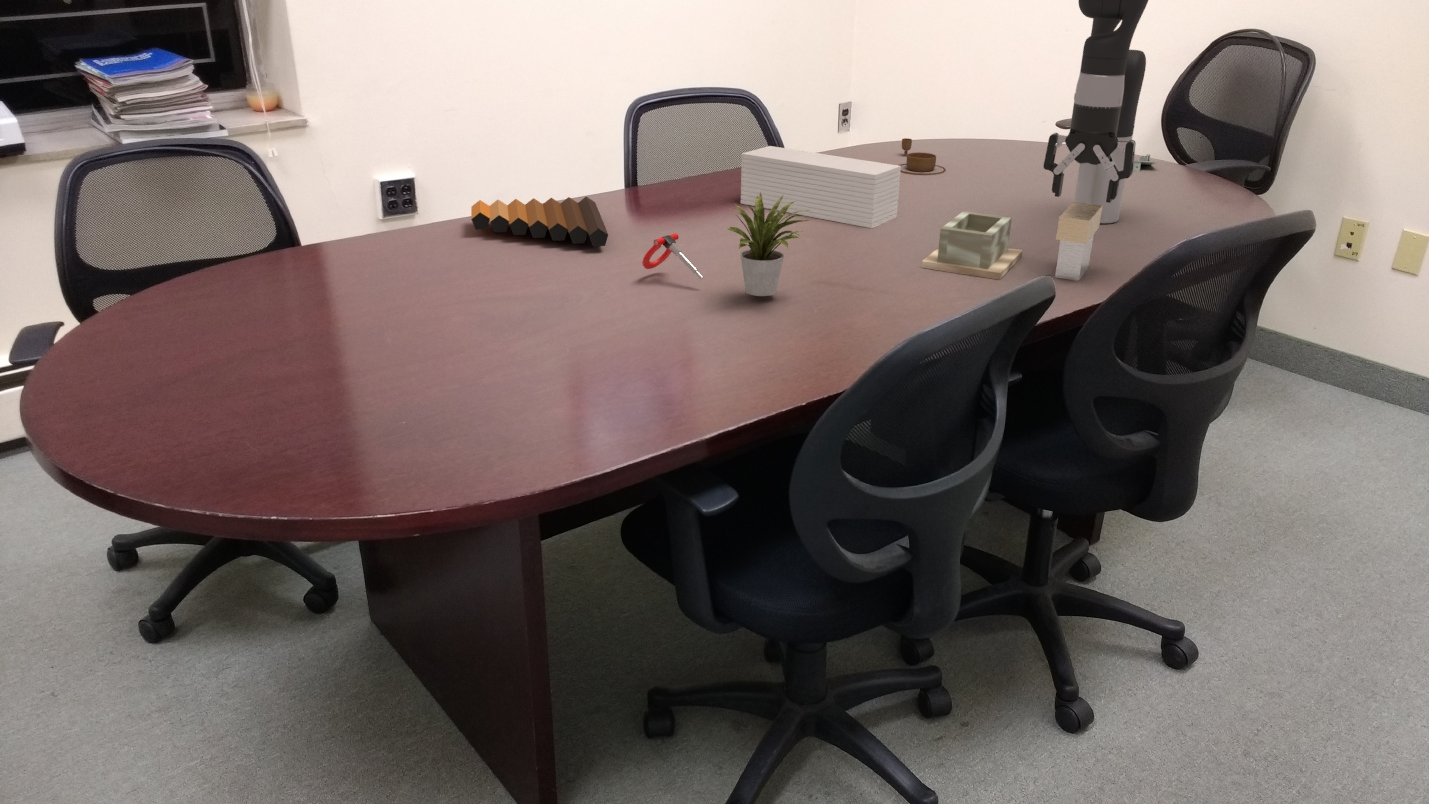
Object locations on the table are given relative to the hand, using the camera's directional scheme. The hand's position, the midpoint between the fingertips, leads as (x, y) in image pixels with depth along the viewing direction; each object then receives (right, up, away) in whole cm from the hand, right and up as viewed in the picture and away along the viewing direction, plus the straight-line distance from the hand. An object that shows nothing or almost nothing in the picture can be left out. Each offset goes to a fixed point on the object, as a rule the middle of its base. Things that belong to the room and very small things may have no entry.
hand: (1082, 198), depth 188 cm
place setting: (-12, +21, +81) cm, 85 cm away
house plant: (-56, -17, -8) cm, 59 cm away
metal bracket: (+46, +22, +80) cm, 94 cm away
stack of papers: (-41, +5, +44) cm, 60 cm away
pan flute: (-95, -5, +13) cm, 96 cm away
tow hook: (-71, -15, +3) cm, 73 cm away
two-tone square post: (0, -12, +6) cm, 13 cm away
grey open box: (-17, -10, +10) cm, 22 cm away
